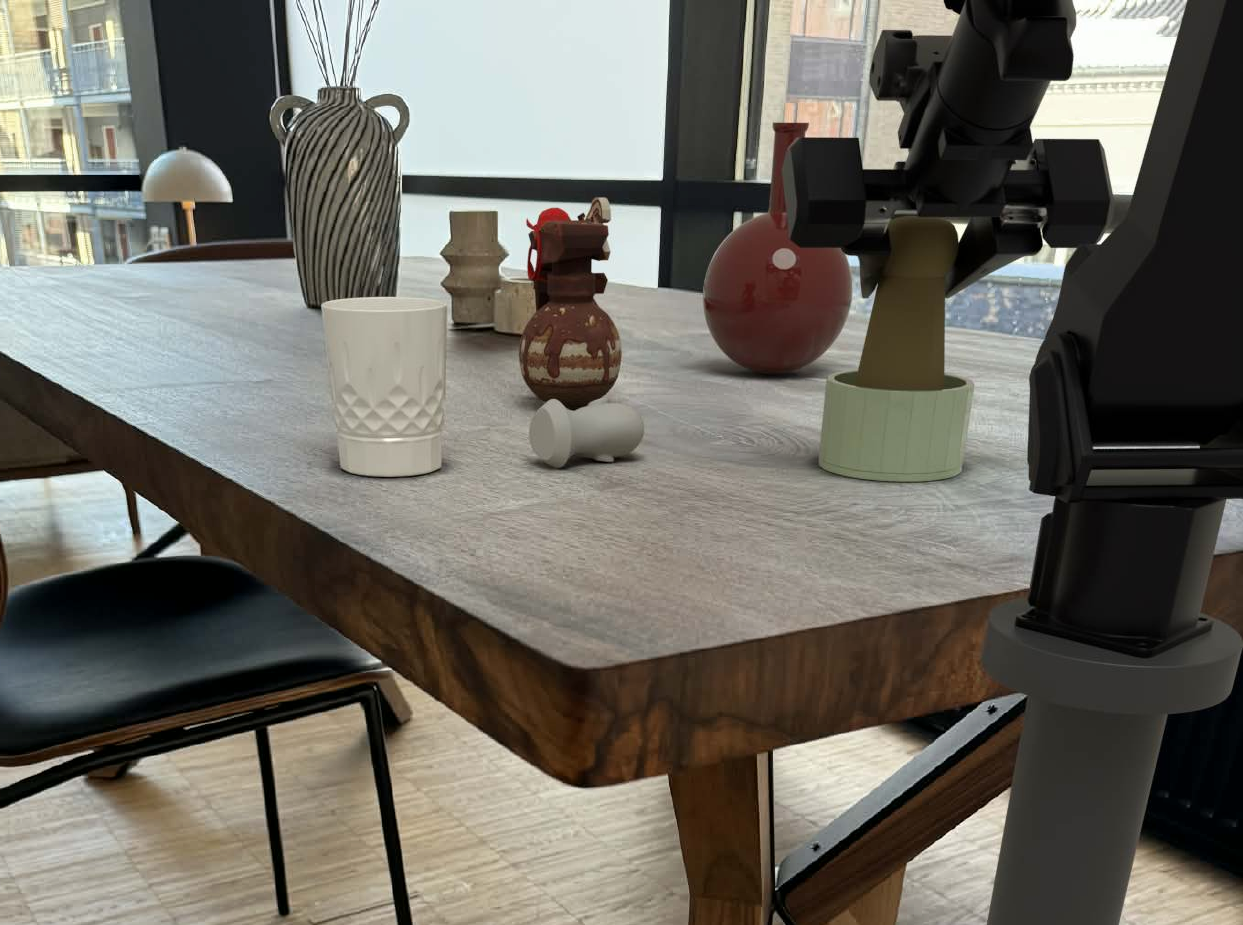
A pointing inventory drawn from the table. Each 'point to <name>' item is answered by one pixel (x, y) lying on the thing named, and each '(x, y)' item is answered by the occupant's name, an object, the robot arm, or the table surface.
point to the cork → (910, 308)
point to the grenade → (569, 310)
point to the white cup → (387, 382)
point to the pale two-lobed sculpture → (585, 431)
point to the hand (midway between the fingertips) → (904, 292)
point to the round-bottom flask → (775, 286)
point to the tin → (894, 430)
